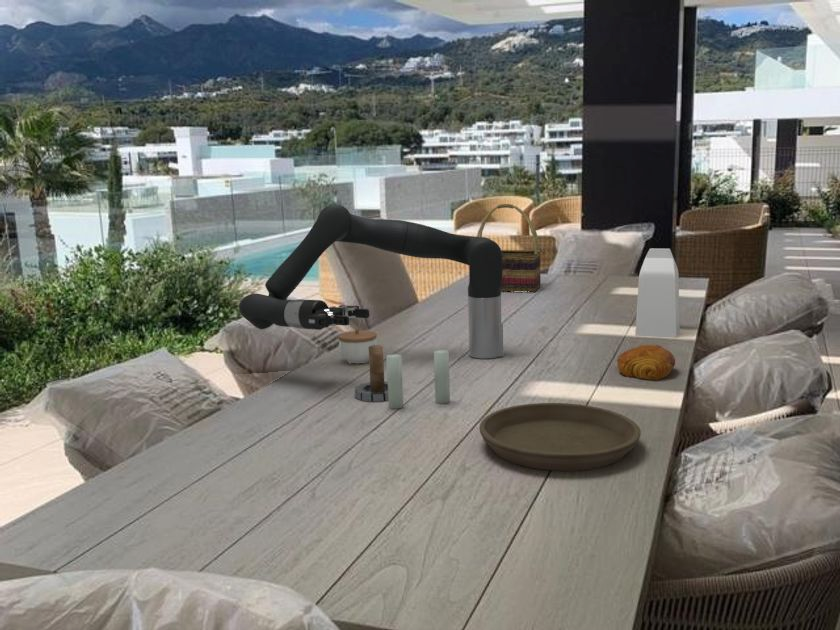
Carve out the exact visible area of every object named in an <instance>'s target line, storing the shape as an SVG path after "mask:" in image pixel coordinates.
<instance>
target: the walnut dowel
mask: <svg viewBox="0 0 840 630" xmlns="http://www.w3.org/2000/svg"><path fill="white" fill-rule="evenodd" d="M368 363H369V366H368V367H369V382H370V387H371V392H383V391H385V385H384V381H385V369H384V367H385V366H384V365H385V364H384V347H383V345H380V344H376V345H373V346H369V362H368Z"/></svg>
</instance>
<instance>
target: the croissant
mask: <svg viewBox="0 0 840 630" xmlns="http://www.w3.org/2000/svg"><path fill="white" fill-rule="evenodd" d="M616 362H617V369H618V372H620V373H621V374H622V375H624V376H625V377H626V378H627V377H628V378H629V379H630V378H635V377H636V378H637V379H640V380H642V379H643V380H652V381H656V380H657V381H659V380H662V379H663V378H664V379H665V377H667V376H668V375H669V374H670V373H671V372H672V369H673V368H674V367H675V365H676V358H675V355H674V354H673V353H672V352H671V351H670V350H668V349H666V348H664V347H663V346H660V345H657V344H656V345H655V344H654V345H653V344H651V345H650V344H645V345H640V346H636V347H632V348H630V349H628V350H626V351H624V352H622V353H621V354H620V355H618V357H617V360H616Z"/></svg>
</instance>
